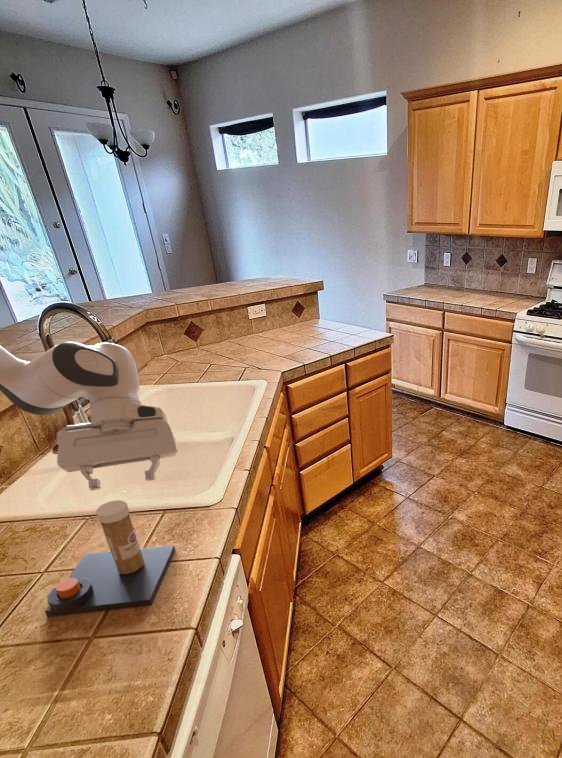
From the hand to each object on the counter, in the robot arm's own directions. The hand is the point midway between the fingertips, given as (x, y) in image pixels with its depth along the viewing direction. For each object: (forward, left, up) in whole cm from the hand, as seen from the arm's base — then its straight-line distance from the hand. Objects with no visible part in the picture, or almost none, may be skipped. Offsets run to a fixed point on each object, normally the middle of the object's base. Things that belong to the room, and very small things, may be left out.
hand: (123, 484), depth 84 cm
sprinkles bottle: (+3, -11, -12) cm, 16 cm away
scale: (+1, -13, -13) cm, 18 cm away
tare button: (-4, -17, -10) cm, 20 cm away
